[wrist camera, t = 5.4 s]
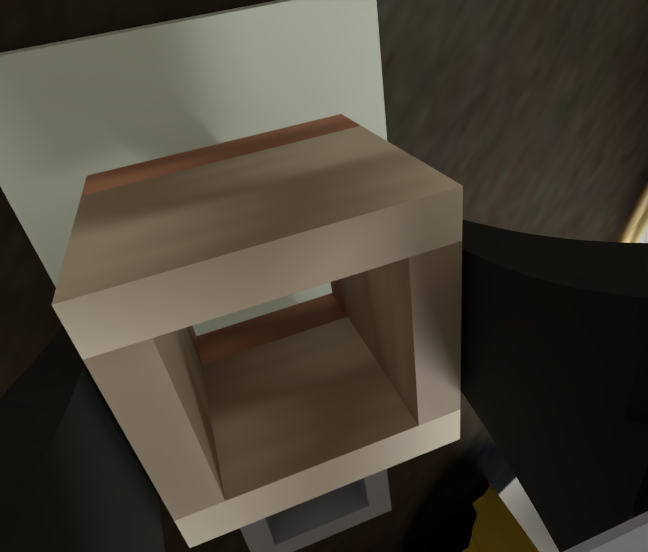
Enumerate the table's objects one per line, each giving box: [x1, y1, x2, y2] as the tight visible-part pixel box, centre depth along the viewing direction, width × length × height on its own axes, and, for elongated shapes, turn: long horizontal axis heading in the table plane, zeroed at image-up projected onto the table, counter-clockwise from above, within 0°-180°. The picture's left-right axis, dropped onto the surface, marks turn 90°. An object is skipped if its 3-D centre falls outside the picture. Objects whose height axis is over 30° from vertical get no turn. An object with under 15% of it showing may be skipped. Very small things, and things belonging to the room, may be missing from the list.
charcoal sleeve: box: [240, 469, 392, 552], centre depth 19 cm, size 6×6×5 cm
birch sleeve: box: [52, 114, 463, 548], centre depth 10 cm, size 6×6×5 cm
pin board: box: [0, 0, 387, 336], centre depth 18 cm, size 12×20×5 cm, turn 8°
